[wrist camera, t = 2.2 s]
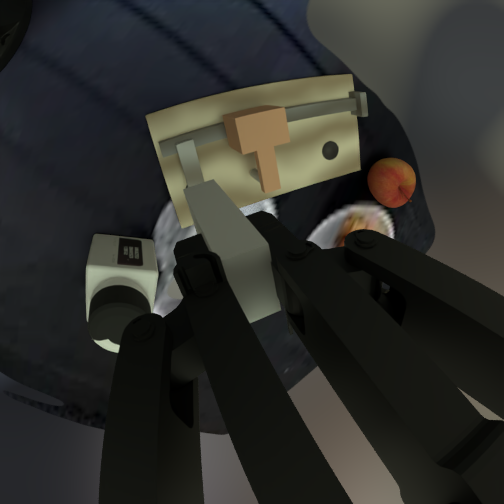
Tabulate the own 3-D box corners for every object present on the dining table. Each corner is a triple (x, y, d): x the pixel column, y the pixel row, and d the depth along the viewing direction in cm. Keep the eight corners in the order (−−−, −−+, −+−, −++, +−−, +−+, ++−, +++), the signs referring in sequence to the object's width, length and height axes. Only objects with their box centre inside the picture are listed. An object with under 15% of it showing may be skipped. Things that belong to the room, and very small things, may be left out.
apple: (388, 146, 41) (426, 160, 34) (392, 186, 45) (426, 204, 38) (354, 160, 40) (392, 176, 33) (360, 202, 44) (394, 223, 38)
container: (93, 232, 32) (78, 299, 21) (154, 238, 35) (165, 305, 25) (91, 284, 35) (84, 359, 24) (146, 289, 38) (156, 362, 28)
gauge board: (145, 115, 28) (145, 117, 25) (346, 74, 32) (363, 74, 30) (180, 224, 36) (185, 237, 33) (355, 167, 40) (371, 174, 38)
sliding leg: (219, 114, 29) (234, 118, 24) (262, 104, 30) (284, 107, 25) (235, 183, 34) (252, 200, 29) (274, 171, 35) (296, 185, 30)
